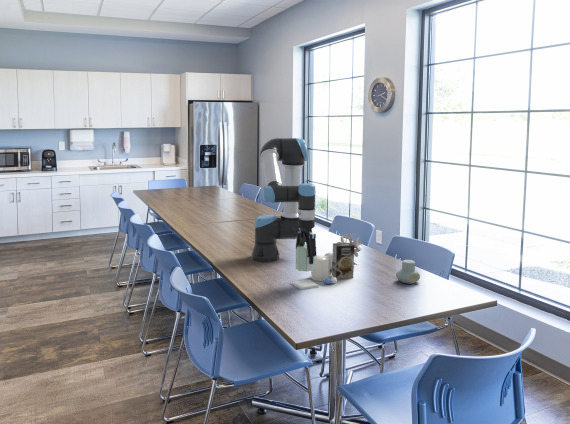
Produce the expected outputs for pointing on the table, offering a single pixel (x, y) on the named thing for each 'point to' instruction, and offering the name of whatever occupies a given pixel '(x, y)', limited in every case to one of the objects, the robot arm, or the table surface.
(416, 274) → the air freshener
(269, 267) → the table surface
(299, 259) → the sage green dome
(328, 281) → the marble
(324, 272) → the cream cup
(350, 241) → the flower vase
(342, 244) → the coffee box
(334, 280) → the marble
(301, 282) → the coaster
